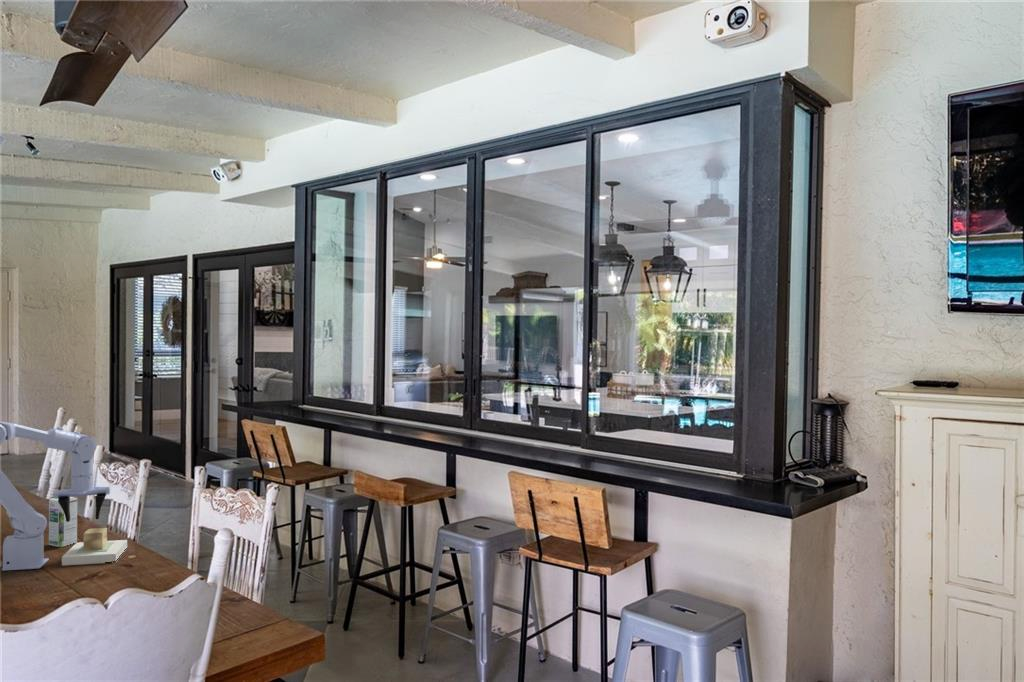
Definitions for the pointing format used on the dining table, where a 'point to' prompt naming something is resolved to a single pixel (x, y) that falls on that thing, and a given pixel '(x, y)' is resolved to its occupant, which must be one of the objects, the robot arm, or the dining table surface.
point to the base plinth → (94, 553)
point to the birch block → (95, 539)
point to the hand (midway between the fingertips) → (82, 519)
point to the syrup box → (62, 523)
